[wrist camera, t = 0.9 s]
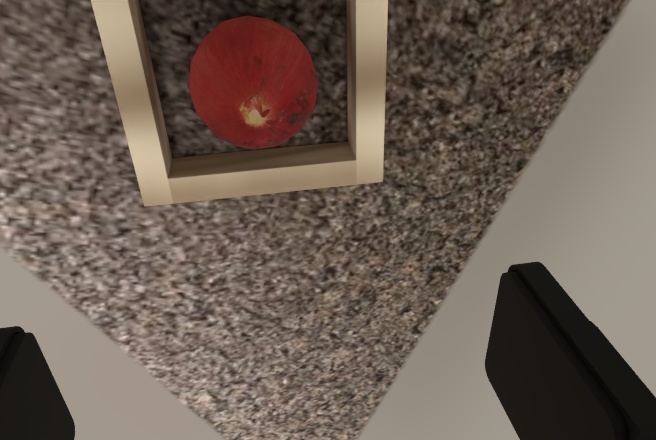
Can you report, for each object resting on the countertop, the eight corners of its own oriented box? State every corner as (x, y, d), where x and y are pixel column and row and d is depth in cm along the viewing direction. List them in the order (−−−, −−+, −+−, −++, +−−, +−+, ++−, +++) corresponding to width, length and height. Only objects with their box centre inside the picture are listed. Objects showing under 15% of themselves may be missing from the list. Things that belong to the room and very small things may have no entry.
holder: (86, -77, 23) (71, -72, 21) (377, -90, 24) (390, -87, 22) (150, 184, 30) (144, 206, 28) (372, 161, 32) (382, 181, 29)
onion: (328, 41, 27) (359, 93, 21) (273, 132, 30) (285, 205, 23) (226, -22, 25) (224, 12, 18) (175, 81, 27) (157, 146, 21)
